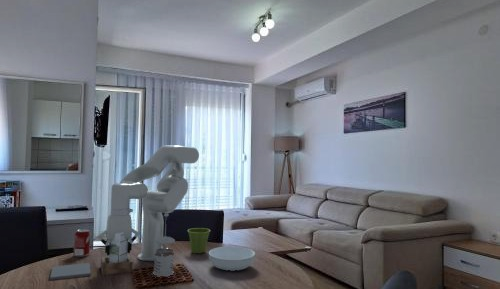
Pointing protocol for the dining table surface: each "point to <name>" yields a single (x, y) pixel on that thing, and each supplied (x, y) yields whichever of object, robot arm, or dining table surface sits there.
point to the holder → (115, 266)
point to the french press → (164, 256)
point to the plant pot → (198, 239)
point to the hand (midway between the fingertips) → (118, 253)
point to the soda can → (82, 243)
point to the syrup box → (118, 249)
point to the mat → (70, 271)
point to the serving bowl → (231, 258)
